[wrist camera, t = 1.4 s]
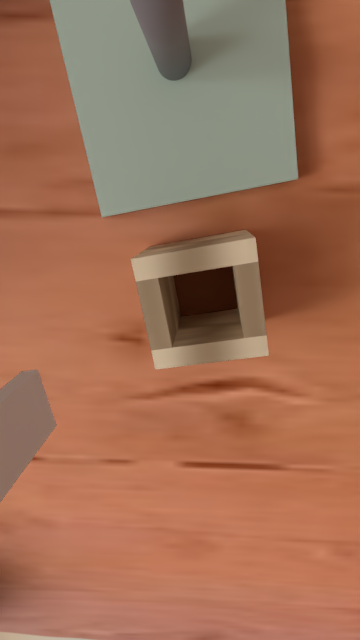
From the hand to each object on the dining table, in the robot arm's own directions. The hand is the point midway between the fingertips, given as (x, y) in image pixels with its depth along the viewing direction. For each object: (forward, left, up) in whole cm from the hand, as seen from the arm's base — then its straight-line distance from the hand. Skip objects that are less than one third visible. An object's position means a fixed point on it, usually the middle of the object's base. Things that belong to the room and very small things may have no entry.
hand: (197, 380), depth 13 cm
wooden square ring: (0, 0, -17) cm, 17 cm away
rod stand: (0, +16, -17) cm, 23 cm away
